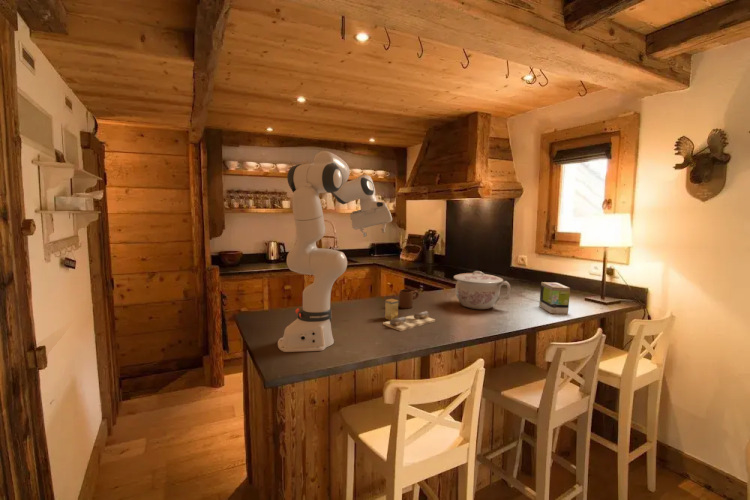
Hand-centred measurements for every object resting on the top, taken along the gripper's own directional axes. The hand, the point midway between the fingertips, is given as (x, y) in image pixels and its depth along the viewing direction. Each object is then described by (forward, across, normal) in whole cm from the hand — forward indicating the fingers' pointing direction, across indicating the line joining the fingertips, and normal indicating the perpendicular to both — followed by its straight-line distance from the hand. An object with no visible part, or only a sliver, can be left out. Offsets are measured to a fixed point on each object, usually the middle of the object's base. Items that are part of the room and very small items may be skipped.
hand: (374, 234), depth 184 cm
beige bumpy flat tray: (+46, +8, +5) cm, 47 cm away
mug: (+39, +6, +33) cm, 52 cm away
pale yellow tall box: (+42, -1, +9) cm, 43 cm away
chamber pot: (+46, +44, +44) cm, 77 cm away
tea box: (+55, +84, +48) cm, 112 cm away
